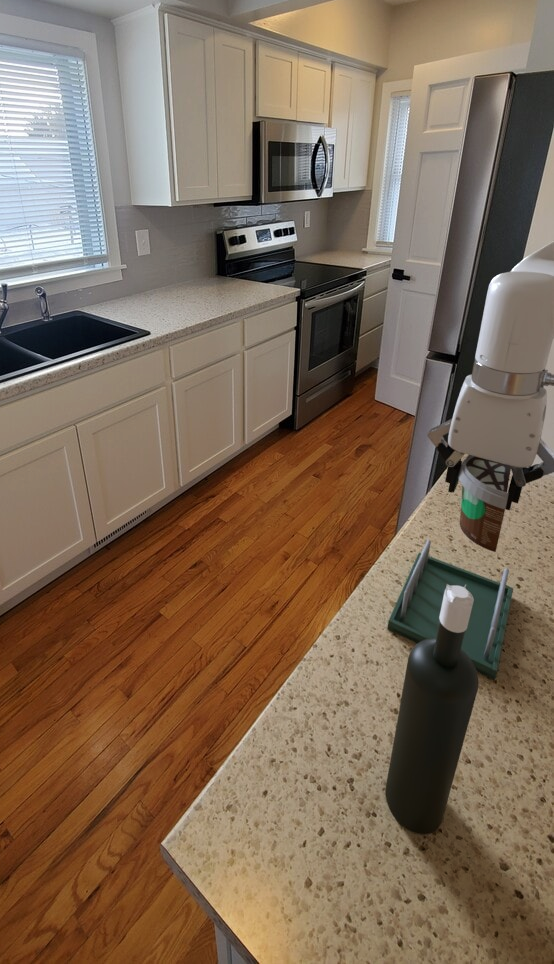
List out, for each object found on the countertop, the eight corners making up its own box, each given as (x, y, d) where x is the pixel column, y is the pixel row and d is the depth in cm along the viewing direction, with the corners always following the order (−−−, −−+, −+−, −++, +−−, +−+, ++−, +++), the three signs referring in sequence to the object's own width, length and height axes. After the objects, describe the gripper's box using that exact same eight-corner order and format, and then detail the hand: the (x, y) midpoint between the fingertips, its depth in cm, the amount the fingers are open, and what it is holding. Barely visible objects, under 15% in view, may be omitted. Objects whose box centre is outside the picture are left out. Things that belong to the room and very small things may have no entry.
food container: (457, 494, 75) (467, 438, 71) (502, 506, 72) (515, 448, 68) (443, 543, 65) (453, 482, 61) (494, 559, 62) (508, 495, 58)
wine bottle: (403, 758, 55) (442, 554, 43) (453, 802, 51) (512, 592, 39) (374, 798, 51) (408, 590, 39) (425, 850, 48) (480, 636, 35)
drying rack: (510, 596, 75) (520, 564, 72) (494, 680, 63) (504, 645, 60) (417, 560, 82) (422, 529, 79) (387, 629, 70) (391, 595, 67)
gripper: (592, 379, 58) (555, 502, 65) (439, 354, 67) (422, 464, 74) (591, 404, 52) (551, 535, 59) (424, 372, 61) (407, 489, 69)
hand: (480, 494), depth 67 cm, fingers closed on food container, 6 cm apart
